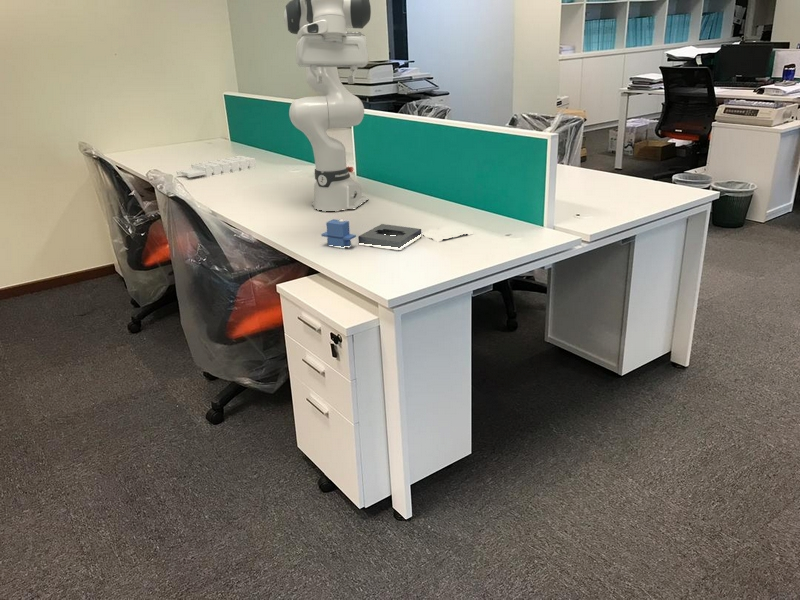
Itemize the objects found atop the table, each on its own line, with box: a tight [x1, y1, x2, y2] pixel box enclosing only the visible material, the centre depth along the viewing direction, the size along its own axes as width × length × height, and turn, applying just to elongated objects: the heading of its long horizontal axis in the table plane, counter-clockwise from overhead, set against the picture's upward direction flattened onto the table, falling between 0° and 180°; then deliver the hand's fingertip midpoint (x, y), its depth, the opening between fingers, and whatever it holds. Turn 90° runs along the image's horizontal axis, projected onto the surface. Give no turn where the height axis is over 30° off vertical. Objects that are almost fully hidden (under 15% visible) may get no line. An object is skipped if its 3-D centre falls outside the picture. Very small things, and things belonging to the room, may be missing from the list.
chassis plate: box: [357, 223, 422, 248], centre depth 189 cm, size 14×14×3 cm
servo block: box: [320, 218, 357, 247], centre depth 186 cm, size 4×10×8 cm, turn 61°
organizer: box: [176, 155, 257, 178], centre depth 294 cm, size 13×5×35 cm
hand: (335, 83), depth 173 cm, fingers open, 8 cm apart
